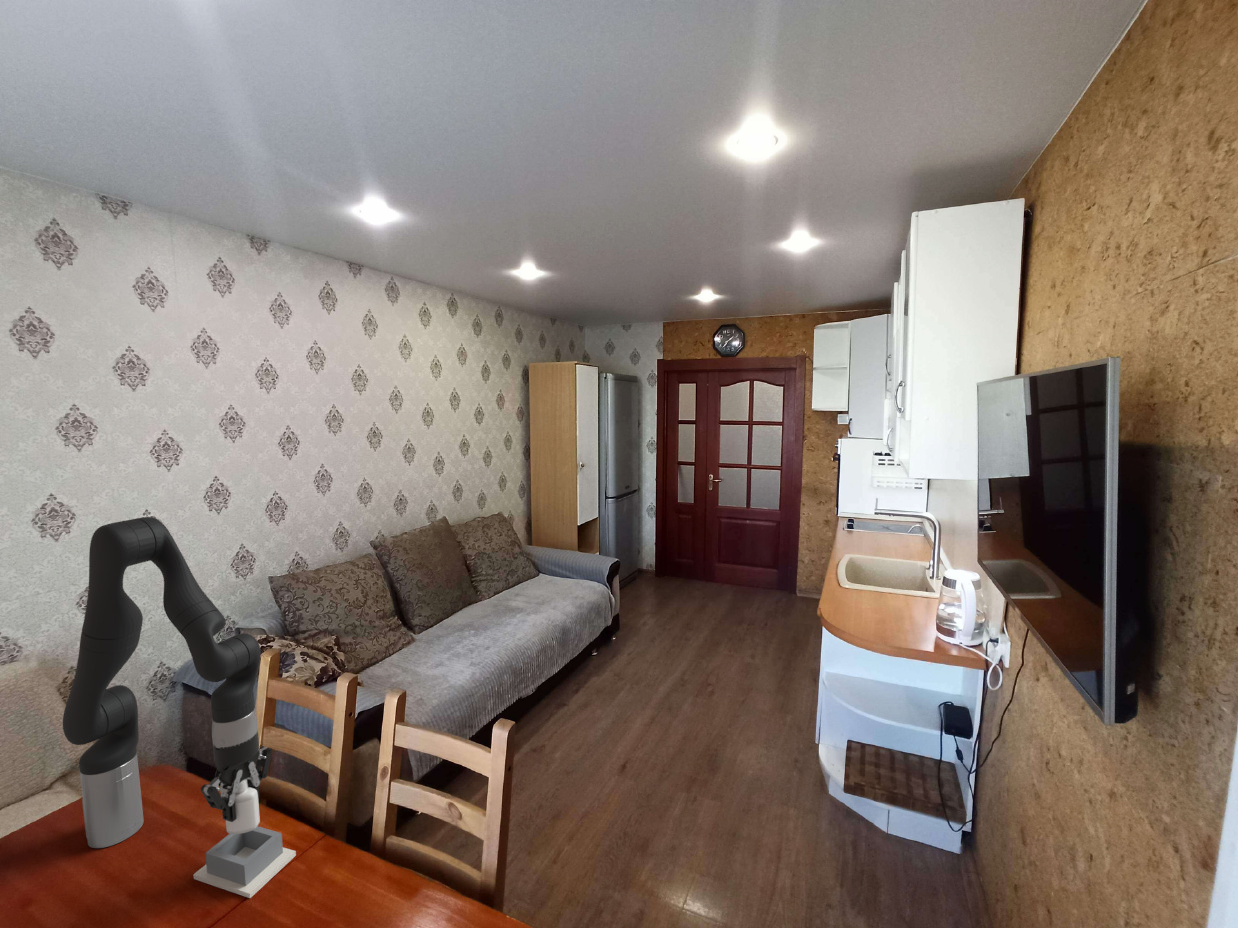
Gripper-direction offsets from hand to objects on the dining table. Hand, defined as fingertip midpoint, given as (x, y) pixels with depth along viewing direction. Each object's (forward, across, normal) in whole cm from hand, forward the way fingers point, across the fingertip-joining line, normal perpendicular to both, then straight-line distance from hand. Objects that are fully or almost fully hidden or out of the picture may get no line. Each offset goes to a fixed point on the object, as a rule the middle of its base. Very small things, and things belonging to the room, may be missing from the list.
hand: (241, 811), depth 110 cm
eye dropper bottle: (+4, 0, 0) cm, 4 cm away
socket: (+13, 0, 0) cm, 13 cm away
